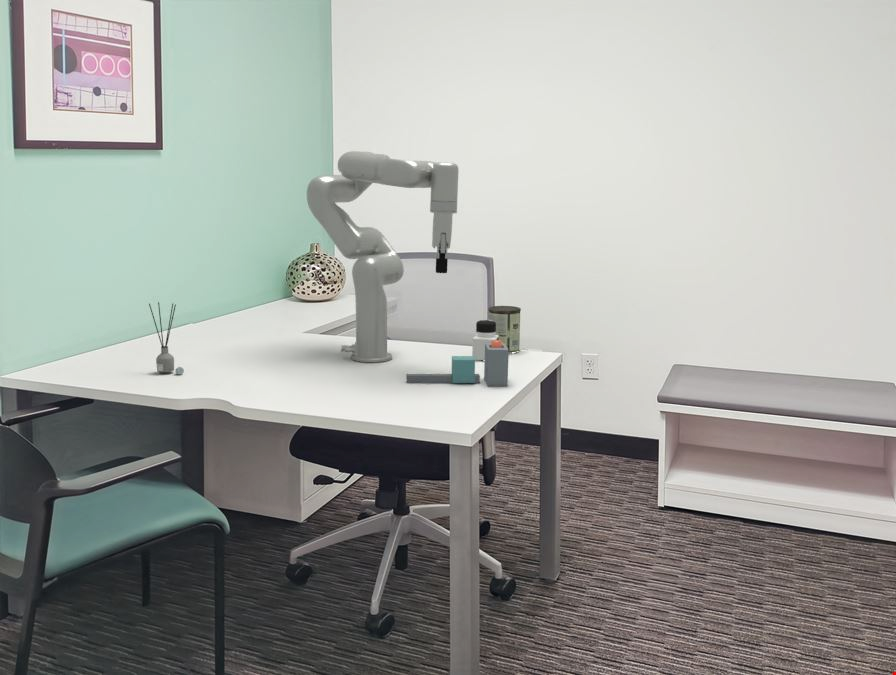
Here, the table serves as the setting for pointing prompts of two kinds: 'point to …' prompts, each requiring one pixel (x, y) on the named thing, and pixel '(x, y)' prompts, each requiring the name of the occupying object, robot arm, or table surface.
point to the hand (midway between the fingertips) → (441, 272)
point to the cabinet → (496, 365)
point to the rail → (433, 378)
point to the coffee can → (507, 325)
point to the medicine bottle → (483, 338)
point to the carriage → (463, 369)
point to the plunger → (496, 344)
